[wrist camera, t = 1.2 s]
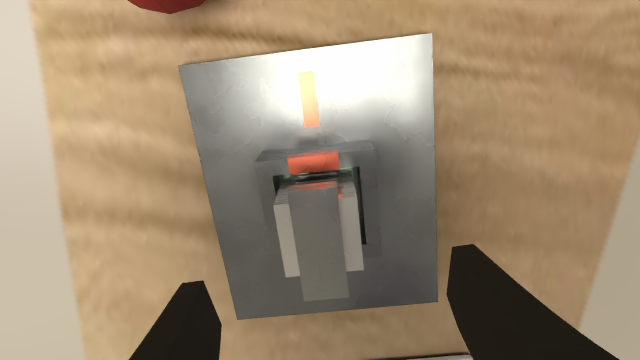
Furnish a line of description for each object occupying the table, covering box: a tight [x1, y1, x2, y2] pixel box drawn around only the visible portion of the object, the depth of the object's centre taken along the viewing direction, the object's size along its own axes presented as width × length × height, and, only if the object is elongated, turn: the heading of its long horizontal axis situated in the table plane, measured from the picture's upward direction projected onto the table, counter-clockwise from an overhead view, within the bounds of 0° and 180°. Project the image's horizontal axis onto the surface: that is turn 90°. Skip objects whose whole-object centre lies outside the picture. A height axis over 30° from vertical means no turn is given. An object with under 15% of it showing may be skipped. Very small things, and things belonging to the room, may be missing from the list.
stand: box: [178, 33, 438, 320], centre depth 20 cm, size 16×13×4 cm
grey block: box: [273, 167, 364, 301], centre depth 18 cm, size 5×4×6 cm
